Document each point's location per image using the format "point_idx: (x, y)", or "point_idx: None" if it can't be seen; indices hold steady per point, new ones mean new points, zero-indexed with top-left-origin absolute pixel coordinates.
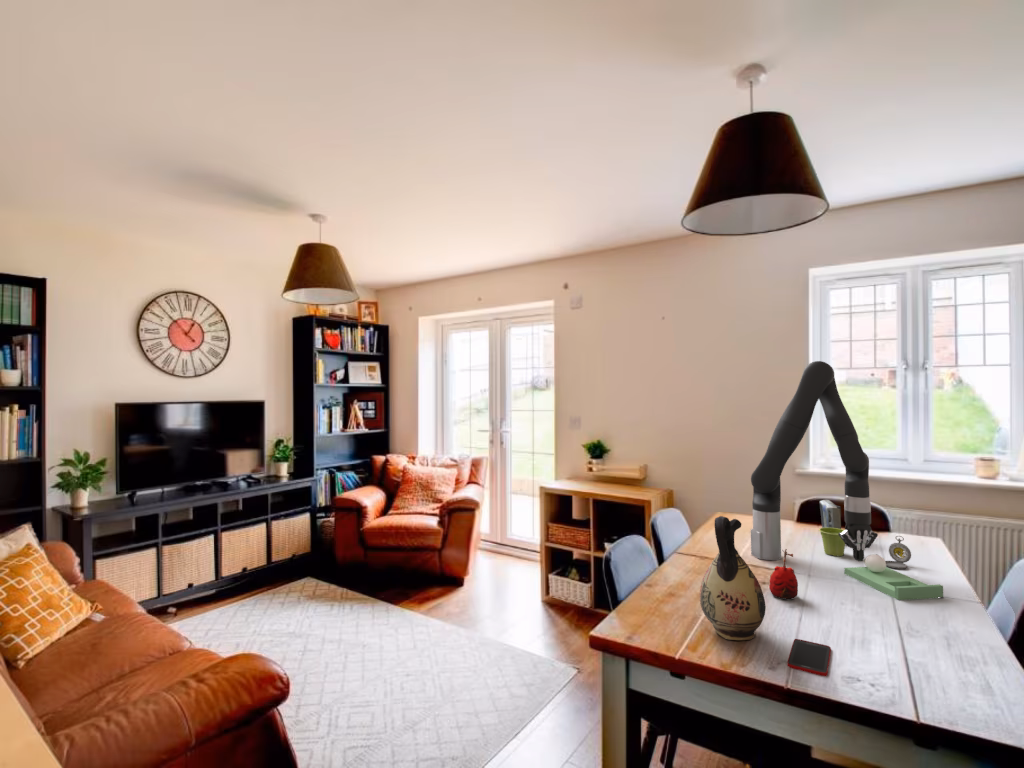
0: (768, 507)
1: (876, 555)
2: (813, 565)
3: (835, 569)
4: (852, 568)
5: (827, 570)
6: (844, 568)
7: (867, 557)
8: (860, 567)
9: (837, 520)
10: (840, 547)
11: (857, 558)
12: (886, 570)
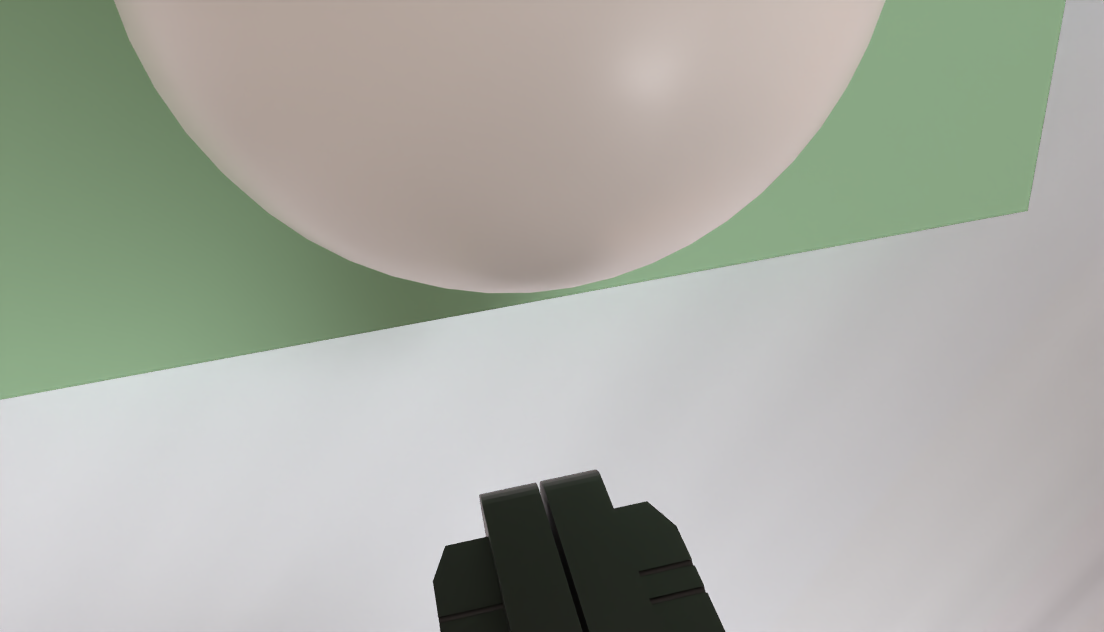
0: None
1: None
2: (1099, 532)
3: (910, 391)
4: (885, 169)
5: (1090, 326)
6: (1021, 197)
7: (865, 49)
8: None
9: None
10: None
11: (638, 522)
12: (5, 39)
